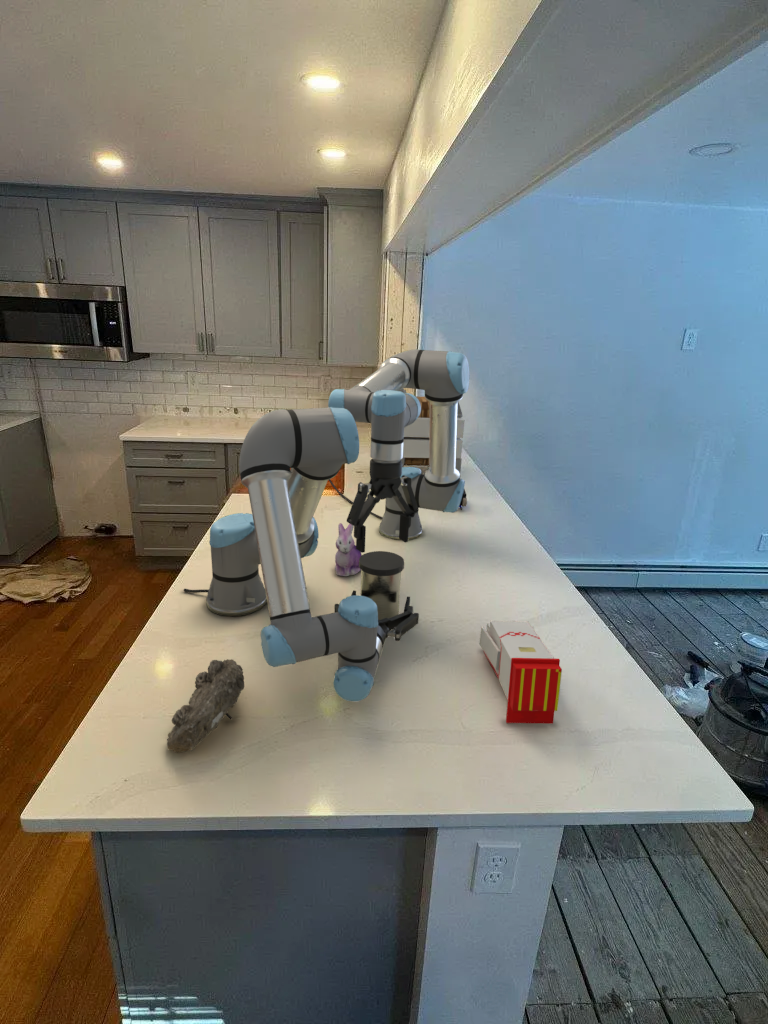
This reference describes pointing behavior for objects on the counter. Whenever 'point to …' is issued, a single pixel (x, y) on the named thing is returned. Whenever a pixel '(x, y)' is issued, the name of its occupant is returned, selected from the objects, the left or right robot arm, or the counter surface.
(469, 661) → the counter surface
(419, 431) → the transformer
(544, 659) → the toy
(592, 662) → the counter surface
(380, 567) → the lid
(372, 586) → the jar
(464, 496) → the figurine character
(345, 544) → the figurine
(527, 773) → the counter surface
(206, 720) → the fossil
